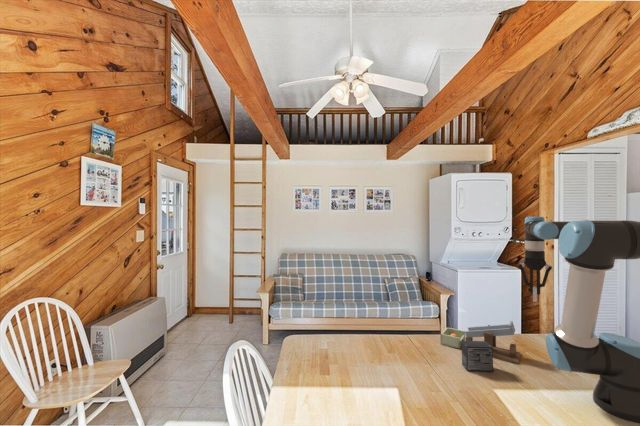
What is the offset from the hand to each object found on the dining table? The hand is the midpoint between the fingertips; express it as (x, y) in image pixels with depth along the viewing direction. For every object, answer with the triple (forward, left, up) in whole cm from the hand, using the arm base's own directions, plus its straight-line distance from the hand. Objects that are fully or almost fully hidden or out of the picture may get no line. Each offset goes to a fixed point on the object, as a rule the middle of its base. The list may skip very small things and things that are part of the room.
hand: (535, 301), depth 140 cm
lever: (-7, +17, -16) cm, 24 cm away
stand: (-10, +17, -24) cm, 31 cm away
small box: (-30, +19, -25) cm, 43 cm away
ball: (-10, +33, -22) cm, 41 cm away
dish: (-10, +34, -24) cm, 43 cm away
